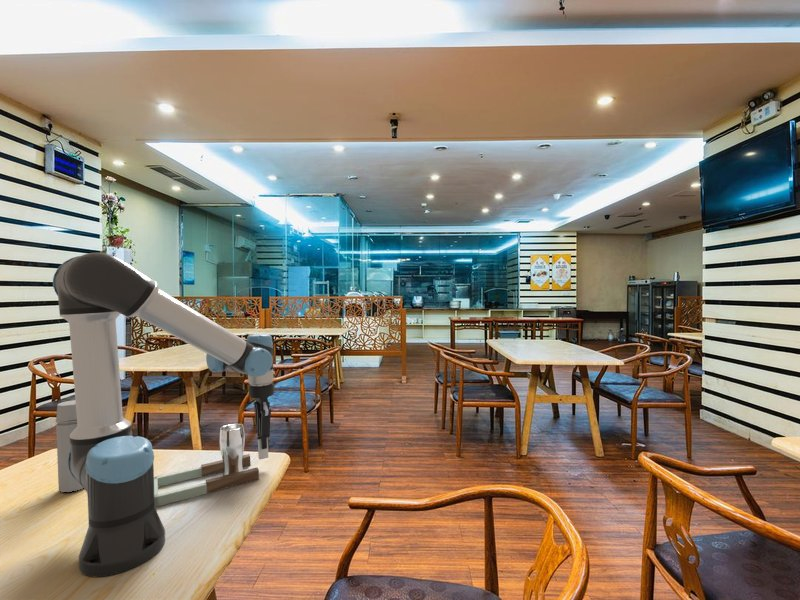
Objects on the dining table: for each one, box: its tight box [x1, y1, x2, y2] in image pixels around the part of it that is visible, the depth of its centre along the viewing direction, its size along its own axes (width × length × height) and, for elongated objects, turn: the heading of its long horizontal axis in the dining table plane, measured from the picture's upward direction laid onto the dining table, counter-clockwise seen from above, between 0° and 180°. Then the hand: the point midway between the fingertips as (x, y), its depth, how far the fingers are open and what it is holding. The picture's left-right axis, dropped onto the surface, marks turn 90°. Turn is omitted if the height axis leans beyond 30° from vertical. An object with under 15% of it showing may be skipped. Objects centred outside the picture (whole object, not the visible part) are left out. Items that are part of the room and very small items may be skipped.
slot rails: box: [200, 453, 260, 494], centre depth 119 cm, size 14×14×3 cm
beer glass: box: [219, 423, 245, 476], centre depth 120 cm, size 7×7×15 cm
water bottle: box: [54, 399, 84, 493], centre depth 115 cm, size 9×8×25 cm
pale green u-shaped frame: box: [154, 466, 208, 508], centre depth 112 cm, size 14×13×2 cm
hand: (263, 457), depth 125 cm, fingers closed
